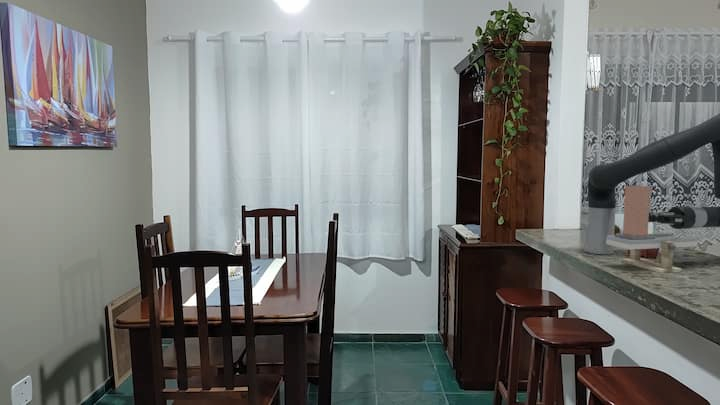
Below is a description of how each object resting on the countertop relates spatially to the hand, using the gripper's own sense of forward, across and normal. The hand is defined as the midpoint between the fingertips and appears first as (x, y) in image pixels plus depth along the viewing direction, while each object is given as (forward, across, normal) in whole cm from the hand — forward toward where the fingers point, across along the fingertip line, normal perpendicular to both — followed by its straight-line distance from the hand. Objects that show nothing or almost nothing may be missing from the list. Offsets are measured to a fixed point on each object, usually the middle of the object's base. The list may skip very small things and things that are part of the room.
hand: (643, 218), depth 161 cm
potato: (-24, -45, +16) cm, 54 cm away
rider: (+2, 0, +7) cm, 8 cm away
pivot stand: (-4, 0, +16) cm, 17 cm away
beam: (-4, 0, +8) cm, 9 cm away
